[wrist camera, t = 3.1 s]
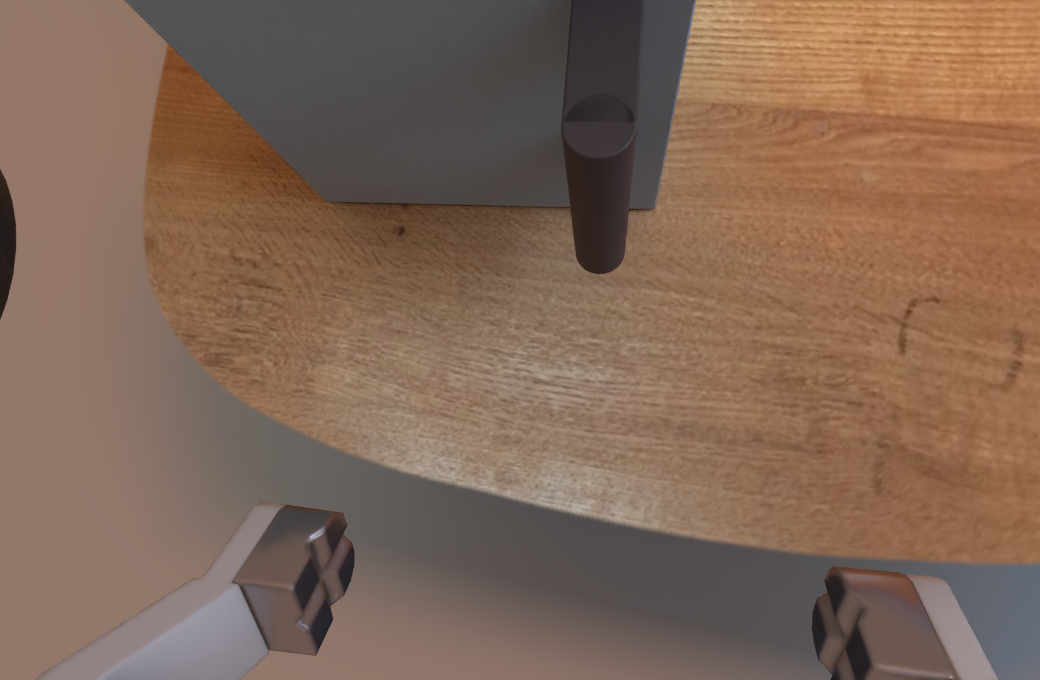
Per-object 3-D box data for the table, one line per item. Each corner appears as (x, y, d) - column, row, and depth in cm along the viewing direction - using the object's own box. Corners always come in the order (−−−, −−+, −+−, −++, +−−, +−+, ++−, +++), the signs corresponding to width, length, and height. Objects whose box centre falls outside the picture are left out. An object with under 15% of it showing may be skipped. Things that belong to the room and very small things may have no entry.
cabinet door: (650, 313, 29) (745, -11, 10) (309, 296, 31) (-141, 18, 12) (656, 191, 30) (748, -301, 11) (328, 185, 33) (-49, -217, 14)
